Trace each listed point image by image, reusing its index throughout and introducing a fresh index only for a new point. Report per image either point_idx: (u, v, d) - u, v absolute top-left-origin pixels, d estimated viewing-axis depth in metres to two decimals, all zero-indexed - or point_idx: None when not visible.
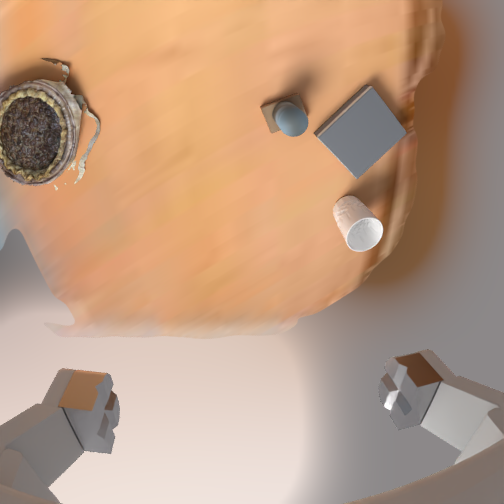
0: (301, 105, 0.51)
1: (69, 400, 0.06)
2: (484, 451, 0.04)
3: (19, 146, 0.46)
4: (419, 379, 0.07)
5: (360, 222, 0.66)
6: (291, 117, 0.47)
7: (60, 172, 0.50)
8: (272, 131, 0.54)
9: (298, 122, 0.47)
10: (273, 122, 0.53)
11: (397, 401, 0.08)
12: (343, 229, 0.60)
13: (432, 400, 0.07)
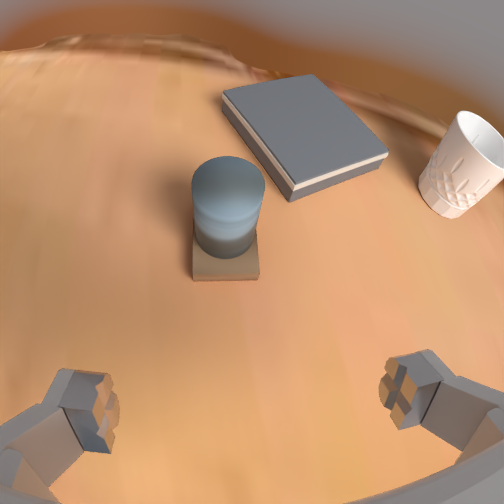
0: None
1: (70, 401, 0.06)
2: (484, 451, 0.04)
3: None
4: (419, 379, 0.07)
5: None
6: (212, 183, 0.20)
7: None
8: (255, 270, 0.24)
9: (230, 174, 0.20)
10: (235, 261, 0.25)
11: (397, 401, 0.08)
12: (482, 177, 0.24)
13: (432, 400, 0.07)
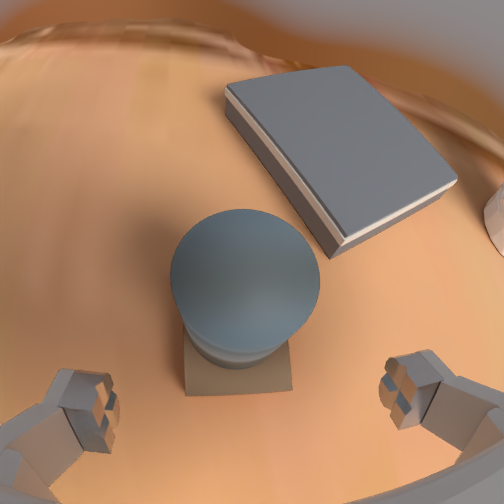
0: None
1: (70, 401, 0.06)
2: (484, 451, 0.04)
3: None
4: (419, 379, 0.07)
5: None
6: (213, 275, 0.10)
7: None
8: (286, 385, 0.14)
9: (249, 252, 0.10)
10: (253, 372, 0.14)
11: (397, 401, 0.08)
12: None
13: (432, 400, 0.07)
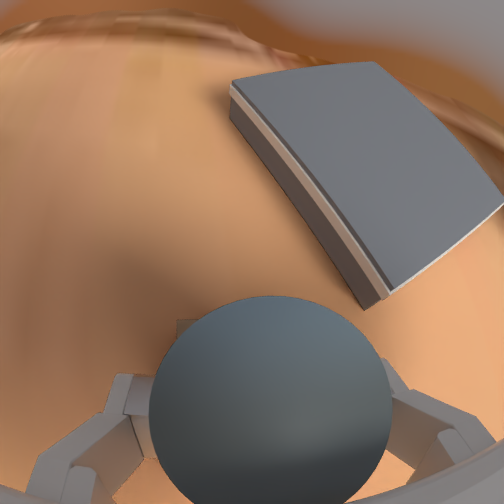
0: None
1: (136, 407, 0.06)
2: (484, 451, 0.04)
3: None
4: None
5: None
6: (222, 424, 0.05)
7: None
8: None
9: (282, 379, 0.06)
10: None
11: None
12: None
13: None
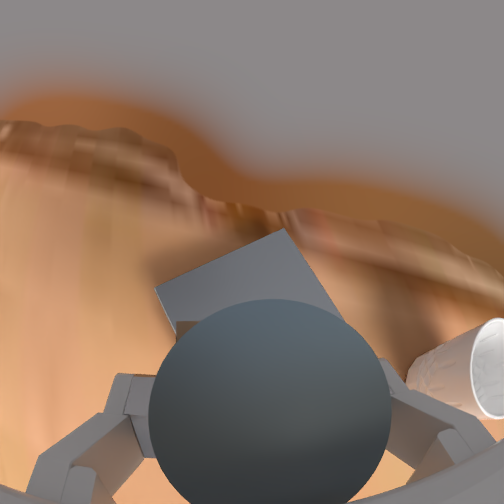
0: None
1: (136, 407, 0.06)
2: (484, 451, 0.04)
3: None
4: None
5: None
6: (222, 427, 0.05)
7: None
8: None
9: (282, 381, 0.05)
10: None
11: None
12: (478, 419, 0.17)
13: None
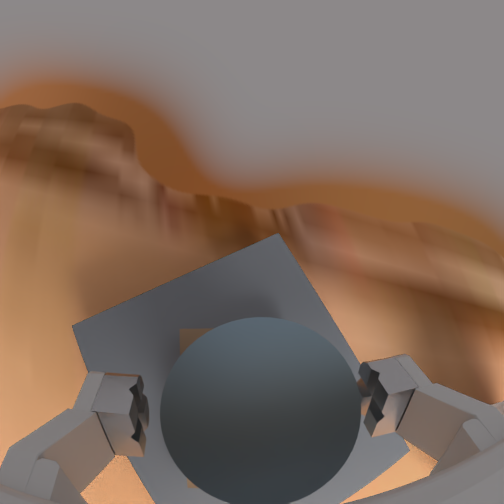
0: None
1: (103, 405, 0.06)
2: (484, 451, 0.04)
3: None
4: (391, 386, 0.07)
5: None
6: (219, 421, 0.06)
7: None
8: None
9: (268, 385, 0.07)
10: None
11: (370, 407, 0.08)
12: None
13: (407, 408, 0.07)
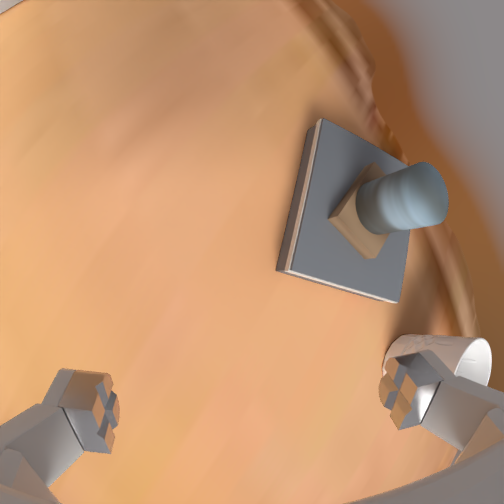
0: None
1: (70, 401, 0.06)
2: (484, 451, 0.04)
3: None
4: (419, 379, 0.07)
5: None
6: (423, 183, 0.20)
7: None
8: (374, 253, 0.26)
9: (434, 187, 0.20)
10: (368, 234, 0.26)
11: (397, 401, 0.08)
12: None
13: (432, 400, 0.07)
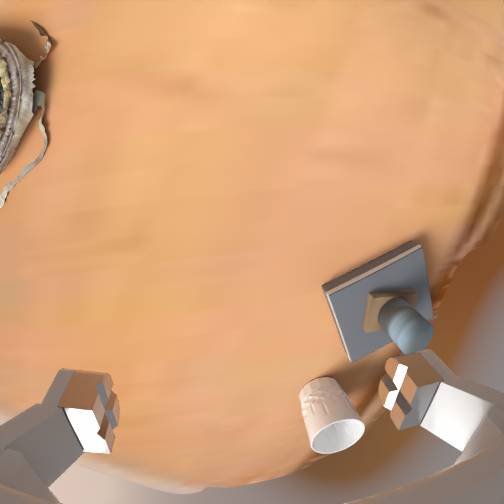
0: (413, 308, 0.39)
1: (70, 401, 0.06)
2: (484, 451, 0.04)
3: None
4: (419, 379, 0.07)
5: None
6: (419, 331, 0.32)
7: None
8: (368, 330, 0.39)
9: (422, 339, 0.33)
10: (375, 320, 0.38)
11: (397, 401, 0.08)
12: (312, 424, 0.39)
13: (432, 400, 0.07)
